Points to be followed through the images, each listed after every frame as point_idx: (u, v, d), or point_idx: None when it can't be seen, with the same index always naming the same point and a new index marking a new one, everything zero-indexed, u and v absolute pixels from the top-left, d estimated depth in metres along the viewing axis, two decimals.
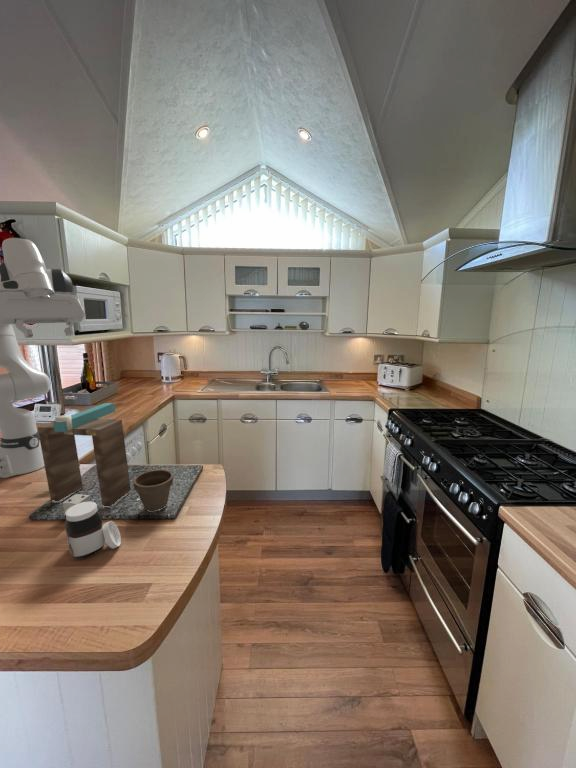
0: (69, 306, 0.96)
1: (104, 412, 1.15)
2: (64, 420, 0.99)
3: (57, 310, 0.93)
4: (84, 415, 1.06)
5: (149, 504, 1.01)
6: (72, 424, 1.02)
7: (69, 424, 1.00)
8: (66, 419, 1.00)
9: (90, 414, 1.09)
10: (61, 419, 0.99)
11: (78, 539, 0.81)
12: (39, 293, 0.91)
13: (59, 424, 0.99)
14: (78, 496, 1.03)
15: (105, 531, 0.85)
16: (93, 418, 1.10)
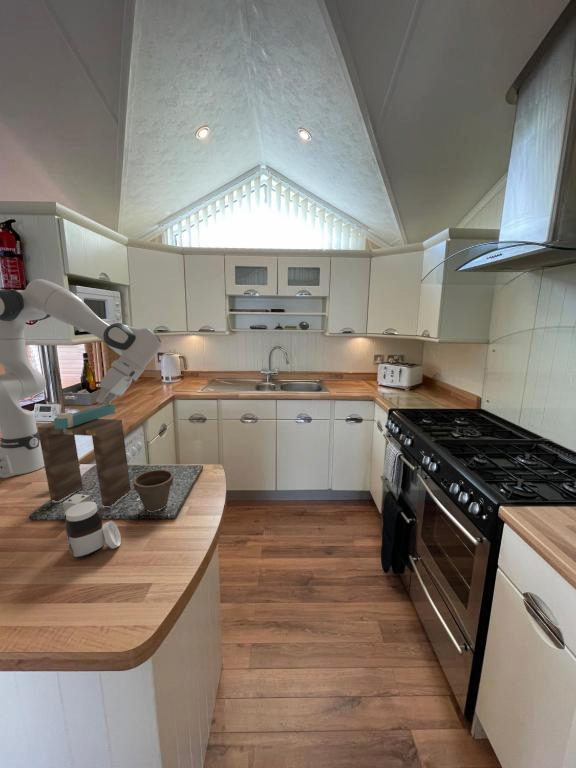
0: (125, 388, 1.23)
1: (104, 413, 1.15)
2: (65, 417, 0.99)
3: (121, 390, 1.19)
4: (85, 414, 1.07)
5: (149, 504, 1.01)
6: (73, 421, 1.02)
7: (70, 421, 1.00)
8: (67, 416, 1.00)
9: (91, 413, 1.09)
10: (62, 416, 0.99)
11: (78, 539, 0.81)
12: (130, 380, 1.17)
13: (60, 421, 0.99)
14: (78, 496, 1.03)
15: (105, 531, 0.85)
16: (93, 418, 1.10)
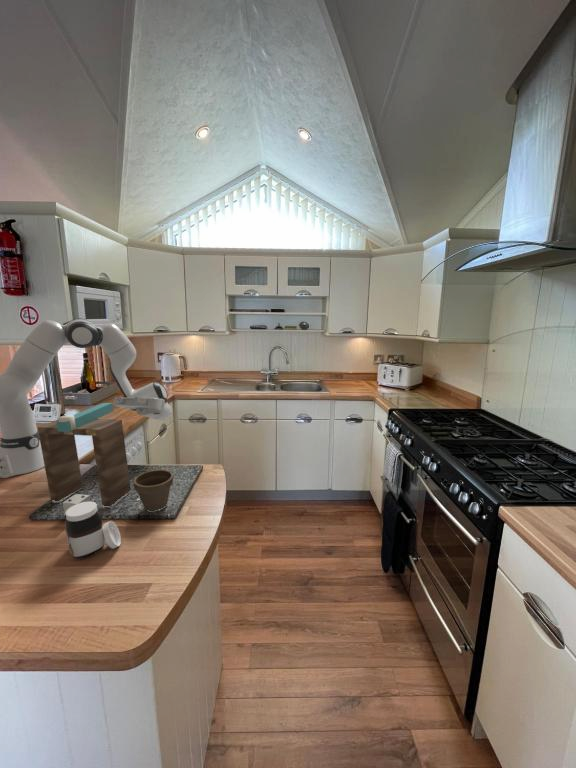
0: (124, 407, 1.44)
1: (104, 412, 1.15)
2: (68, 420, 0.99)
3: (129, 406, 1.42)
4: (86, 415, 1.07)
5: (149, 504, 1.01)
6: (75, 424, 1.02)
7: (73, 424, 1.01)
8: (70, 419, 1.00)
9: (91, 414, 1.09)
10: (65, 419, 0.99)
11: (78, 539, 0.81)
12: (141, 411, 1.46)
13: (62, 424, 0.99)
14: (78, 496, 1.03)
15: (105, 531, 0.85)
16: (94, 418, 1.10)
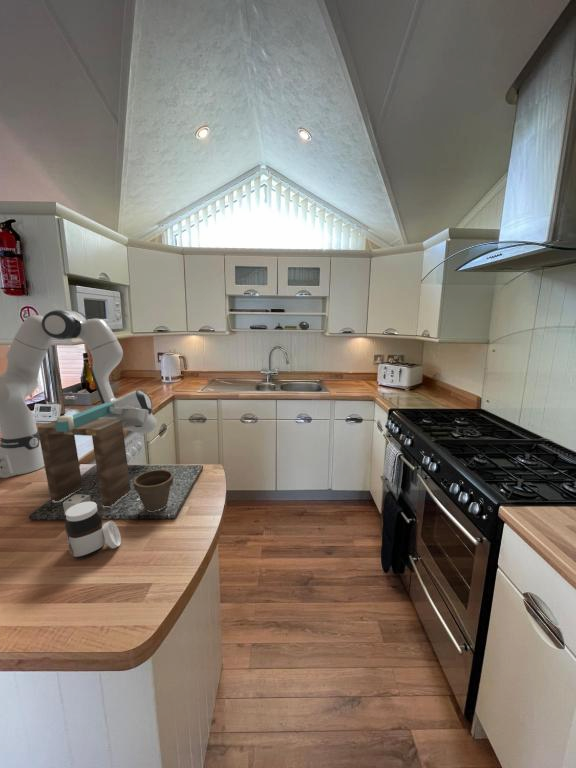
0: (101, 418, 1.25)
1: (104, 412, 1.15)
2: (66, 420, 0.99)
3: (106, 417, 1.23)
4: (85, 415, 1.06)
5: (149, 504, 1.01)
6: (74, 424, 1.02)
7: (71, 424, 1.00)
8: (68, 419, 1.00)
9: (91, 414, 1.09)
10: (63, 419, 0.99)
11: (78, 539, 0.81)
12: None
13: (61, 424, 0.99)
14: (78, 496, 1.03)
15: (105, 531, 0.85)
16: (94, 418, 1.10)
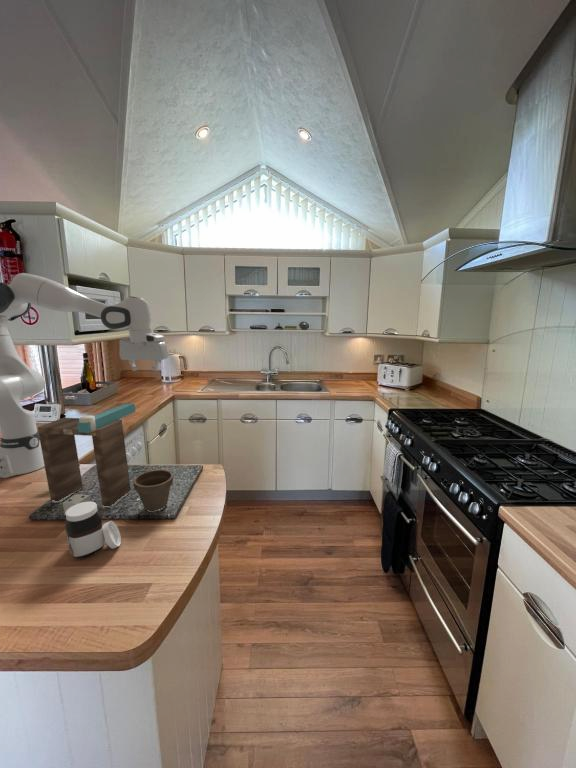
0: None
1: (125, 413, 1.14)
2: (88, 421, 0.98)
3: None
4: (107, 416, 1.05)
5: (149, 504, 1.01)
6: (95, 425, 1.00)
7: (93, 425, 0.99)
8: (90, 420, 0.98)
9: (112, 414, 1.08)
10: (85, 420, 0.98)
11: (78, 539, 0.81)
12: None
13: (83, 425, 0.98)
14: (78, 496, 1.03)
15: (105, 531, 0.85)
16: (115, 419, 1.09)
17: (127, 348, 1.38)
